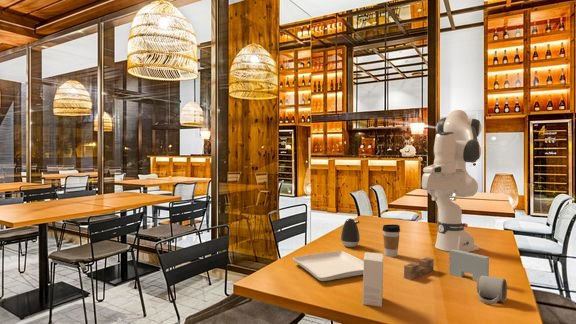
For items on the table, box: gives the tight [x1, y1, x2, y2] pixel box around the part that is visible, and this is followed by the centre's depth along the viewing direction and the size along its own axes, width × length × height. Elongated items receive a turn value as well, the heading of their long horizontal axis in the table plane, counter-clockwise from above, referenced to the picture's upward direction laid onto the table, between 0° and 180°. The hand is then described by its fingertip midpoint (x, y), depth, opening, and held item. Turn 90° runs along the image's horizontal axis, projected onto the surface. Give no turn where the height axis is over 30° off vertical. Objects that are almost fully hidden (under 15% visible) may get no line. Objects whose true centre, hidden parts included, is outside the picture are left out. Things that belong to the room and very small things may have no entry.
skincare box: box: [362, 251, 384, 308], centre depth 114 cm, size 8×7×16 cm
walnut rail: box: [403, 256, 435, 281], centre depth 140 cm, size 18×3×5 cm, turn 129°
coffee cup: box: [382, 224, 401, 258], centre depth 166 cm, size 8×8×15 cm
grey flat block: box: [448, 249, 490, 282], centre depth 136 cm, size 14×3×10 cm, turn 39°
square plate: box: [292, 250, 364, 282], centre depth 146 cm, size 27×27×4 cm
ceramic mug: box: [476, 275, 508, 305], centre depth 116 cm, size 11×8×8 cm
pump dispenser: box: [340, 218, 361, 248], centre depth 183 cm, size 10×10×15 cm
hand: (444, 200), depth 145 cm, fingers open, 8 cm apart
